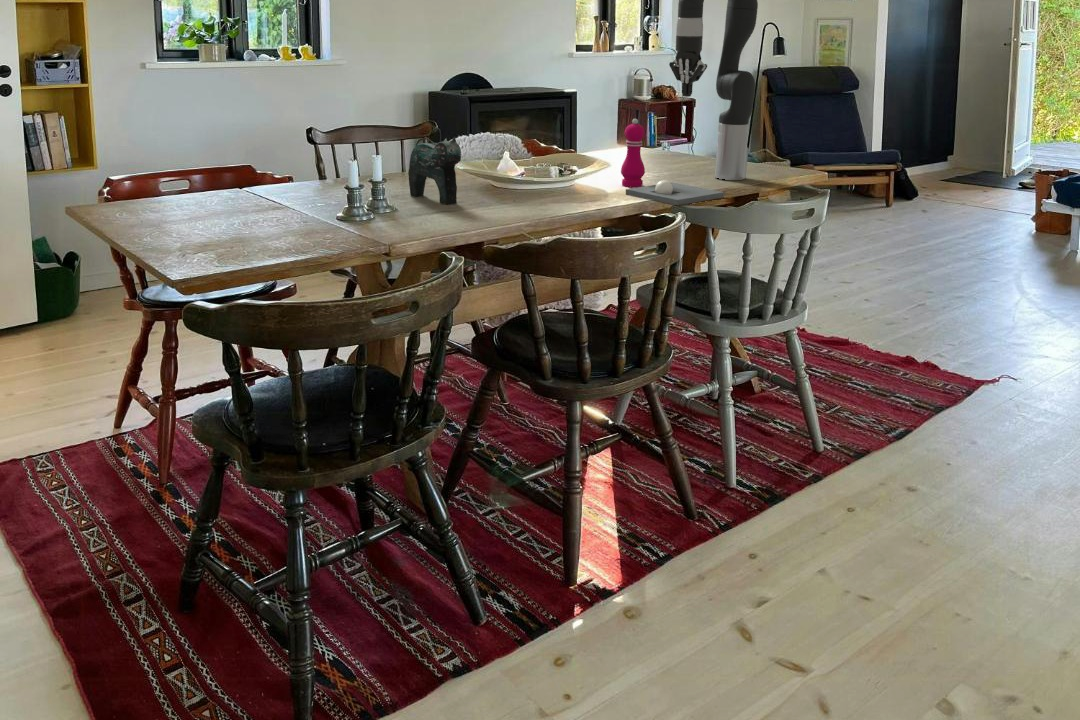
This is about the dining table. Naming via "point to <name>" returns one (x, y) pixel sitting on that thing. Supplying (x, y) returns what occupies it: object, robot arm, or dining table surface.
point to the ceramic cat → (435, 168)
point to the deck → (676, 194)
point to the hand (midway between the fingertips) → (686, 96)
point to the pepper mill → (633, 156)
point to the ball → (664, 187)
